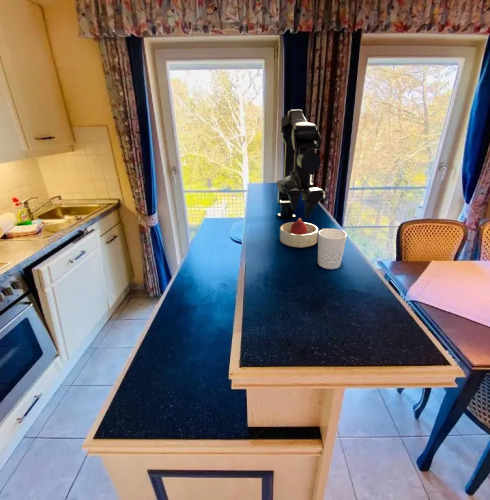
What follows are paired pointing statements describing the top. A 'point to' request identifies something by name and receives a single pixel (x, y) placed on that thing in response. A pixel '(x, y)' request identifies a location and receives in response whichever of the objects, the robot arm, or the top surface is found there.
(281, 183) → the robot arm
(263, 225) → the top surface
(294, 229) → the onion
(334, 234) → the white cup
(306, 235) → the bowl
